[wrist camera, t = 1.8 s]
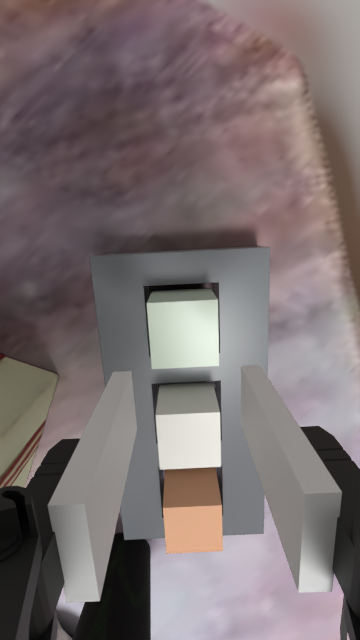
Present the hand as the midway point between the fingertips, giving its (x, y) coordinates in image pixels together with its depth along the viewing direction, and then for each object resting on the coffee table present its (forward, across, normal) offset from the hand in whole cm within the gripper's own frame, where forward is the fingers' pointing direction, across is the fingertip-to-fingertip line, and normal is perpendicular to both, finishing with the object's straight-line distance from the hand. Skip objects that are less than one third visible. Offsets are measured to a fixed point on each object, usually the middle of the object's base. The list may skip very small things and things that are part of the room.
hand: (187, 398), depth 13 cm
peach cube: (+14, 0, -17) cm, 22 cm away
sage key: (+14, 0, 0) cm, 14 cm away
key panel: (+17, 0, -8) cm, 19 cm away
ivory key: (+14, 0, -9) cm, 16 cm away
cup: (+17, -8, -29) cm, 35 cm away
